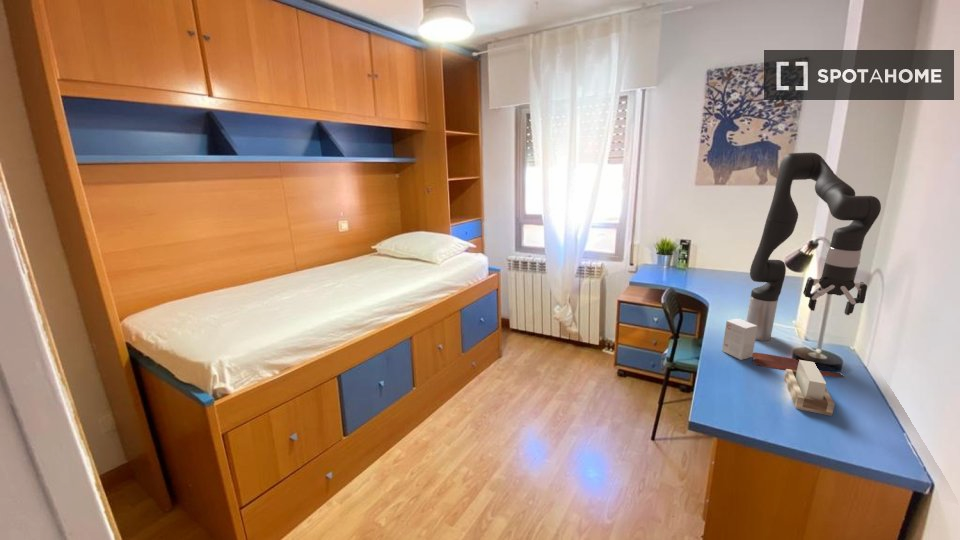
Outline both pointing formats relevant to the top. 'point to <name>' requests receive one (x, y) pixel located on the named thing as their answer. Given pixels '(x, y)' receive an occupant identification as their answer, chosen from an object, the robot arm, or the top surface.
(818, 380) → the strip
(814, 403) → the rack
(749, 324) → the small box
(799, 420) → the top surface
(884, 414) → the top surface
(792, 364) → the wooden tablet
